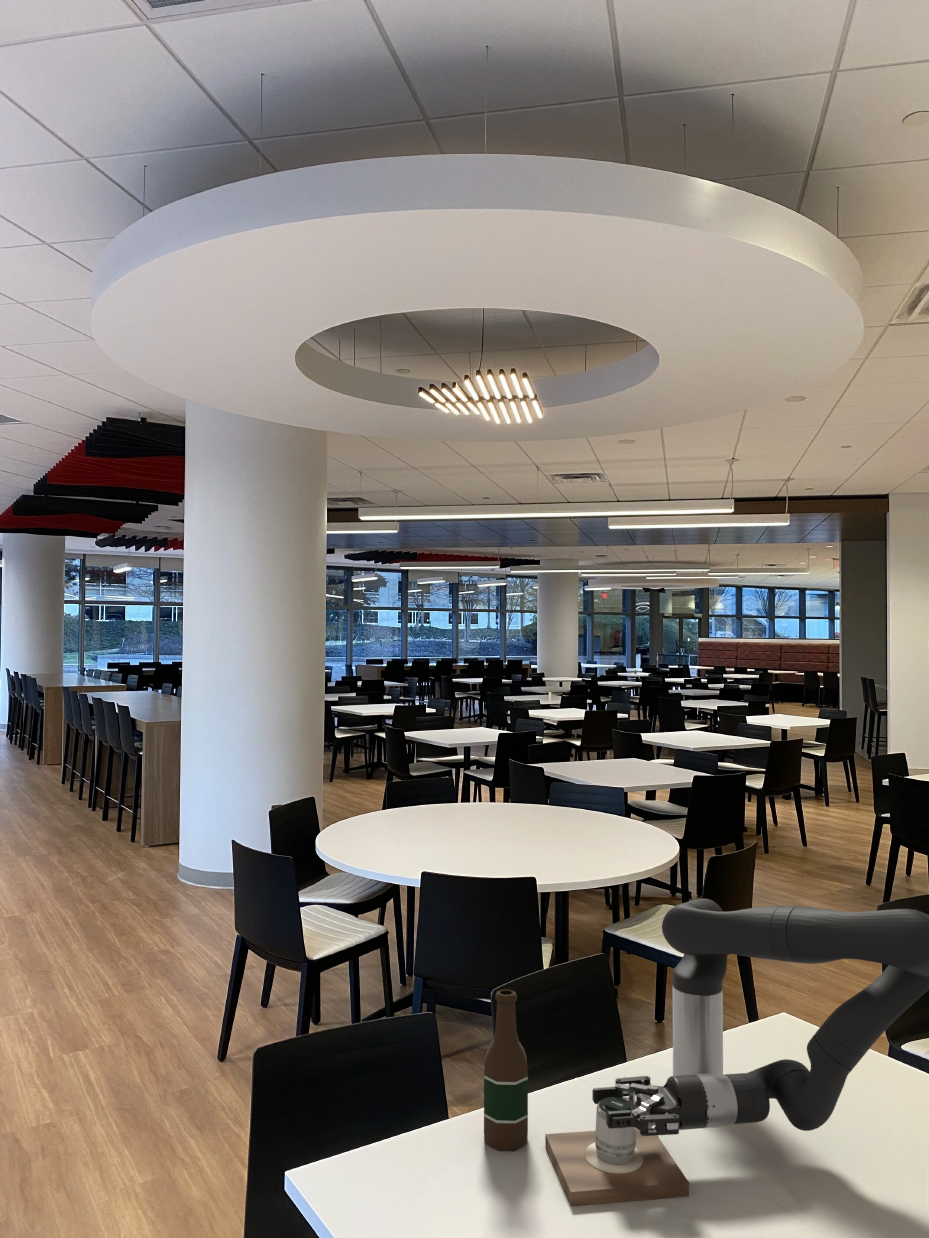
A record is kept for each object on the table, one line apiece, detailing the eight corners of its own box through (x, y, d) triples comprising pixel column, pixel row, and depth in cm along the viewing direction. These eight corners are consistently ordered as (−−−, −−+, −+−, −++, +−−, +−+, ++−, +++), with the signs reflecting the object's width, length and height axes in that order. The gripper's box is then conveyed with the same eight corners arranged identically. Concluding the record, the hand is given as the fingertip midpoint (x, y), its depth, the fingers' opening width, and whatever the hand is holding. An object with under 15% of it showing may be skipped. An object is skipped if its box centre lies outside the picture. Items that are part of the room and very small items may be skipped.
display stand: (545, 1146, 146) (545, 1132, 146) (651, 1138, 149) (651, 1125, 149) (570, 1205, 131) (570, 1190, 131) (689, 1196, 133) (688, 1180, 133)
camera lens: (602, 1139, 144) (604, 1089, 144) (640, 1151, 141) (642, 1100, 141) (588, 1157, 139) (591, 1105, 139) (627, 1170, 136) (630, 1117, 136)
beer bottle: (536, 1133, 150) (536, 987, 151) (519, 1157, 143) (519, 1003, 144) (493, 1123, 154) (493, 980, 155) (474, 1145, 147) (475, 996, 148)
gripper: (683, 1056, 149) (586, 1062, 147) (720, 1098, 135) (613, 1106, 133) (683, 1102, 149) (587, 1109, 147) (720, 1149, 135) (613, 1158, 133)
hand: (600, 1107), depth 140 cm, fingers open, 7 cm apart
